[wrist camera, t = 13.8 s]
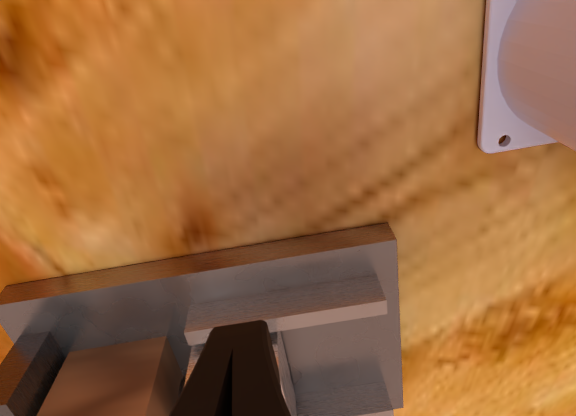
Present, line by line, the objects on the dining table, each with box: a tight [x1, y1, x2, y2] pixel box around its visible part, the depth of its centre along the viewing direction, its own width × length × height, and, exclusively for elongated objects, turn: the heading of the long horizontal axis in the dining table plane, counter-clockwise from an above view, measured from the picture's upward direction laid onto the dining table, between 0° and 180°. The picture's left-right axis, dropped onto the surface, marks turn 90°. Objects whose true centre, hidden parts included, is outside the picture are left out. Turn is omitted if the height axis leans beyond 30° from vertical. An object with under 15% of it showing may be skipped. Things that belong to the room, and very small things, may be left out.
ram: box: [178, 331, 297, 416], centre depth 20 cm, size 5×6×4 cm
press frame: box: [0, 223, 403, 416], centre depth 21 cm, size 19×12×6 cm, turn 99°
